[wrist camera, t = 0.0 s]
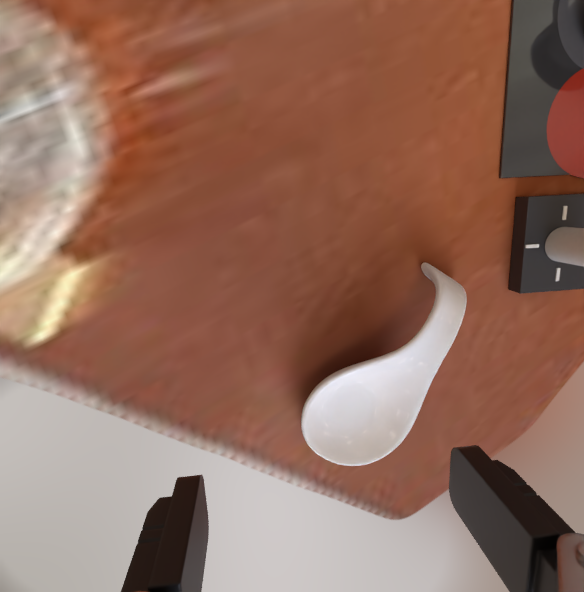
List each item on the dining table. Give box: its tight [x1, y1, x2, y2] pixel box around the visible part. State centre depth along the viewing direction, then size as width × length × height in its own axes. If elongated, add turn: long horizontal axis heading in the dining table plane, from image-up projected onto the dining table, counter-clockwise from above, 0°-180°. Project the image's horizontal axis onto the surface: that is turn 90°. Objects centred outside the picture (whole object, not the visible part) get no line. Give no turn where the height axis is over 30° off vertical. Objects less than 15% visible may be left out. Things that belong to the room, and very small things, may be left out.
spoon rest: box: [301, 262, 467, 466], centre depth 40 cm, size 24×12×7 cm, turn 149°
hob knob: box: [545, 227, 584, 267], centre depth 38 cm, size 4×4×5 cm
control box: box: [509, 193, 584, 293], centre depth 42 cm, size 10×8×2 cm
